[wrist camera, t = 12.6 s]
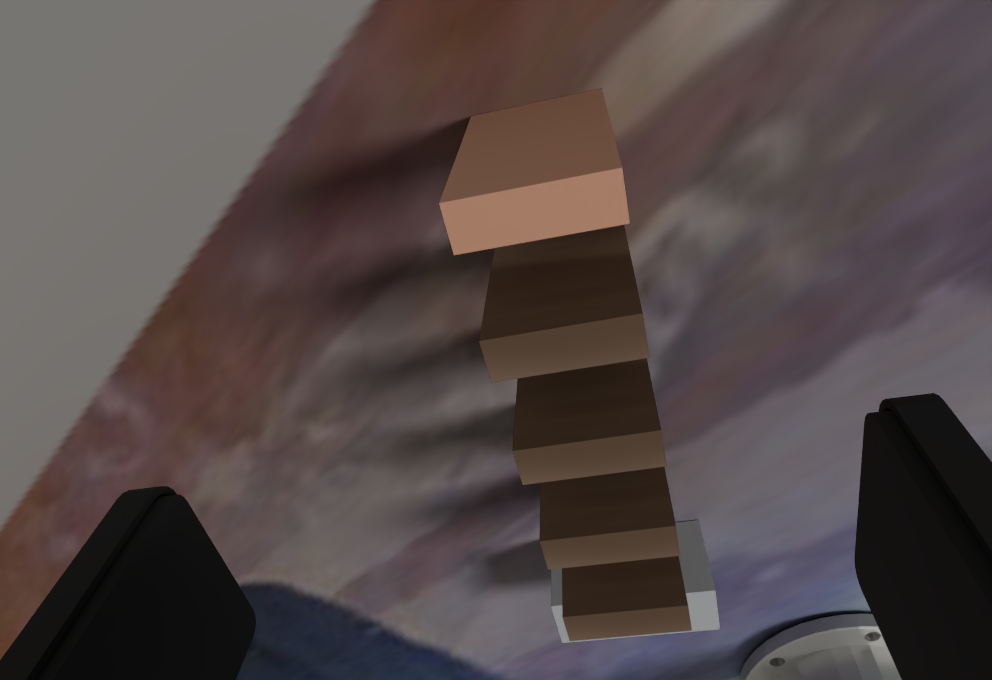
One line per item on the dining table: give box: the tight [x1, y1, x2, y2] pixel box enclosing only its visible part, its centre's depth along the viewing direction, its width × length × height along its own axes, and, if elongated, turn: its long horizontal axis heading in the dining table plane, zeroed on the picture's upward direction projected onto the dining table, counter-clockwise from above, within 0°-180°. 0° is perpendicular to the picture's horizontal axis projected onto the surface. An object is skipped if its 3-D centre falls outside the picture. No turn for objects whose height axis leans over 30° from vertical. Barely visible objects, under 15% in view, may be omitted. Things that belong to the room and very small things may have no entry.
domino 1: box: [439, 88, 630, 255], centre depth 23 cm, size 2×5×9 cm, turn 103°
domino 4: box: [540, 467, 680, 570], centre depth 30 cm, size 2×5×9 cm, turn 104°
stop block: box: [551, 520, 720, 643], centre depth 37 cm, size 3×8×4 cm, turn 104°
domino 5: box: [562, 556, 692, 641], centre depth 32 cm, size 2×5×9 cm, turn 104°
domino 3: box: [512, 358, 667, 485], centre depth 28 cm, size 2×5×9 cm, turn 104°
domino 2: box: [479, 225, 649, 383], centre depth 25 cm, size 2×5×9 cm, turn 104°
